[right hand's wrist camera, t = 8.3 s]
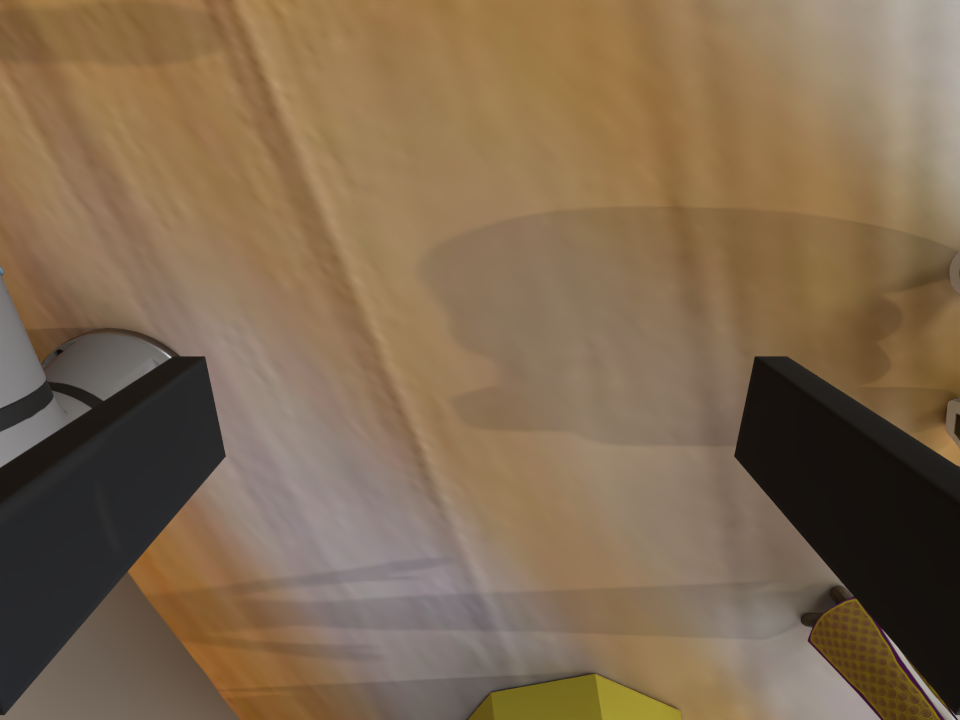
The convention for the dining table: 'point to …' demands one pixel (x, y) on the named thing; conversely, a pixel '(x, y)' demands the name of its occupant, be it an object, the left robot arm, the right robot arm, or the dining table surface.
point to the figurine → (872, 662)
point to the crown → (573, 702)
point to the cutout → (956, 418)
